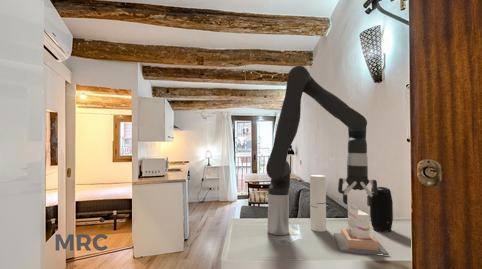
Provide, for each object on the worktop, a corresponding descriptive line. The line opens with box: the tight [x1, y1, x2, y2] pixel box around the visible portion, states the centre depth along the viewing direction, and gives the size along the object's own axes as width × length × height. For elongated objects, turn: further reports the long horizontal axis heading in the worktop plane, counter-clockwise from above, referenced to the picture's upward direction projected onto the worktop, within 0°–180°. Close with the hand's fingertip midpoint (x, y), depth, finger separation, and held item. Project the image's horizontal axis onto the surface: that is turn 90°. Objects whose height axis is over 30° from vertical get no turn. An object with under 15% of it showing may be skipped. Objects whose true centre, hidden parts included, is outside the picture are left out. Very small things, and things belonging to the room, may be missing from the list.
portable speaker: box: [369, 186, 394, 233], centre depth 117 cm, size 9×9×20 cm
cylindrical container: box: [309, 174, 327, 232], centre depth 118 cm, size 7×7×25 cm
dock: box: [333, 227, 390, 256], centre depth 99 cm, size 16×18×4 cm
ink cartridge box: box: [347, 202, 371, 240], centre depth 99 cm, size 9×5×15 cm, turn 2°
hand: (357, 204), depth 99 cm, fingers open, 8 cm apart
